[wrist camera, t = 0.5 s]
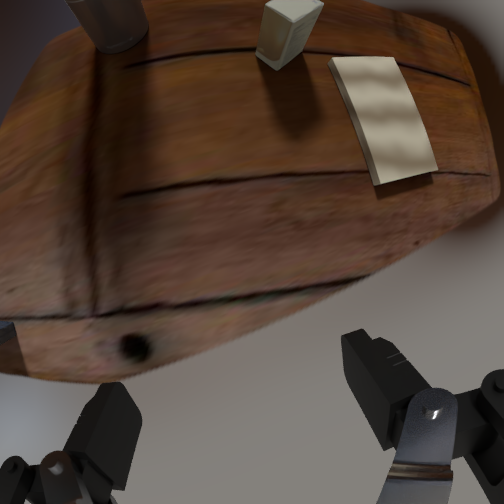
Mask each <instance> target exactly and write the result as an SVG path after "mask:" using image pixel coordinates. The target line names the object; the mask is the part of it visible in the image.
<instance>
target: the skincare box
mask: <svg viewBox="0 0 504 504" xmlns="http://www.w3.org/2000/svg"><path fill="white" fill-rule="evenodd" d="M323 5H324V3H322V2H321V1H319V0H271V1H269V2H268V3H266V4H265V8H264V13H263V18H262V23H261V29H260V34H259V39H258V44H257V49H256V56H257V57H258V58H260V59H261V60H262V61H264V62H265V63H266V64H268V65H269V66H270V67H272V68H273V69H274V70H276V71H278V70H279V69H280V68H282V67H283V66H284V65H286V64H287V63H288V62H289V61H291V60H292V59H293V58H294V57H295V56H297V55H298V54H299V53H300V52H301V51H302V50H303V47H304V45H305V43H306V41H307V39H308V37H309V34H310V32H311V30H312V28H313V26H314V24H315V22H316V20H317V18H318V16H319V13H320V11H321V9H322V7H323Z"/></svg>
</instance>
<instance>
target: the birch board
mask: <svg viewBox="0 0 504 504" xmlns="http://www.w3.org/2000/svg"><path fill="white" fill-rule="evenodd" d="M328 66H329V68H330V70H331V72H332V74H333V77H334V79H335V81H336V83H337V86H338V88H339V90H340V92H341V95H342V97H343V100H344V102H345V104H346V107H347V109H348V112H349V114H350V117H351V120H352V122H353V125H354V128H355V130H356V133H357V136H358V139H359V141H360V144H361V147H362V150H363V153H364V156H365V159H366V162H367V165H368V168H369V172H370V175H371V178H372V181H373V185H374V186H375V185H379V184H383V183H387V182H391V181H395V180H398V179H402V178H406V177H410V176H414V175H418V174H423V173H427V172H431V171H435V170H438V168H437V164H436V161H435V158H434V154H433V151H432V148H431V145H430V142H429V139H428V136H427V133H426V131H425V128H424V125H423V123H422V120H421V117H420V115H419V112H418V110H417V107H416V105H415V102H414V100H413V98H412V95H411V93H410V91H409V89H408V86H407V84H406V82H405V80H404V78H403V76H402V74H401V72H400V70H399V68H398V66H397V64H396V62H395V60H394V58H393V57H335V58H331V60H330V61H329V63H328Z"/></svg>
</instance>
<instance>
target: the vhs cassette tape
mask: <svg viewBox="0 0 504 504" xmlns="http://www.w3.org/2000/svg"><path fill="white" fill-rule="evenodd" d="M15 336H16V333H15V328H14V325H13V322H7V321H6V322H5V321H0V345H1V344H3V343H5V342H6V341H8V340H10V339H11V338H13V337H15Z"/></svg>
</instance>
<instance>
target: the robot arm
mask: <svg viewBox="0 0 504 504" xmlns="http://www.w3.org/2000/svg"><path fill="white" fill-rule="evenodd" d="M65 2H66V3H67V4H68V6H69V8H70V9H71V11H72V12H73V14H74V15H75V17H76V18H77V19H78V21H79V22H80V24H81V25H82V27H83V28H84V30H85V31H86V33H87V34H88V36H89V37H90V39H91V40H92V42H93V43H94V45H95V46H96V47H97V49H98V50H99V51H100V52H102V53H106V54H114V53H119V52H122V51H125V50H127V49H129V48H131V47H132V46H134V45H135V44H137V43H138V42H139V41H140V40H141V39H142V38H143V37H144V35H145V34H146V32H147V30H148V25H149V24H148V20H147V17H146V14H145V12H144V8H143V5H142V2H141V0H65ZM341 345H342V354H343V366H344V373H345V377H346V380H347V383H348V385H349V387H350V389H351V391H352V392H353V394H354V396H355V398H356V400H357V402H358V403H359V405H360V407H361V409H362V411H363V413H364V414H365V417H366V418H367V420H368V422H369V424H370V425H371V428H372V430H373V432H374V433H375V435H376V437H377V439H378V441H379V443H380V445H381V447H382V449H383V451H385V450H387V449H390V448H392V447H394V448H395V450H396V455H395V457H394V460H393V464H392V466H391V468H390V470H389V473H388V475H387V478H386V481H385V483H384V486H383V488H382V491H381V493H380V496H379V498H378V501H377V503H376V504H447V503H448V499H449V495H450V491H451V487H452V482H453V471H451V469H450V468H451V460H452V459H455V458H459V457H462V456H463V457H464V458H465V460H466V461H467V463H468V465H469V467H470V468H471V470H472V472H473V473H474V475H475V477H476V478H477V480H478V482H479V484H480V485H481V487H482V489H483V490H484V493H485V494H486V496H487V498H488V500H489V502H490V503H491V504H504V369H502V370H501V369H500V370H495V371H492V372H490V373H489V374H488V375H486V377H485V378H484V379H483V382H482V384H481V387H480V388H478V389H474V390H471V391H468V392H464V393H461V394H455V395H453V394H452V393H451V392H449V391H448V390H445V389H442V388H432V387H431V386H430V385H429V384H428V383H427V381H426V380H425V379H424V378H423V377H422V376H421V375H420V373H419V372H418V371H417V370H416V369H415V368H414V367H413V365H411V363H410V362H409V361H407V360H406V358H405V357H404V355H403V354H402V353H400V351H399V350H398V349H397V348H396V346H395V345H394V344H393V343H391V342H390V341H387V340H385V339H383V338H381V337H379V338H377V339H374V340H372V339H371V338H370V336H368V334H367V333H366V332H365V330H364V329H359V330H357V331H353V332H350V333H347V334H344V335H342V336H341ZM80 415H81V416H79V418H78V420H77V424H75V426H74V428H73V430H72V432H71V434H70V436H69V438H68V440H67V442H66V444H65V446H64V449H63V451H53V452H51V453H49V454H48V455H46V456H45V457H44V458H43V460H42V461H41V464H40V465H30V466H29V465H28V464H27V463H26V462H25V461H24V460H23V459H22V458H21V457H20V456H12V457H9V458H8V459H7V460H6V461H4V463H3V464H2V466H1V468H0V504H24V502H25V499H26V500H28V501H29V502H30V503H31V504H117V502H116V500H115V499H114V497H113V496H112V495H111V491H112V489H113V490H122V491H124V490H125V486H126V482H127V478H128V474H129V471H130V467H131V463H132V459H133V455H134V452H135V448H136V444H137V440H138V437H139V433H140V430H141V426H142V416H141V413H140V411H139V409H138V407H137V406H136V404H135V402H134V401H133V399H132V398H131V396H130V395H129V393H128V391H127V390H126V388H125V386H124V385H123V384H122V383H121V382H111V383H102V384H101V385H100V386H99V388H98V390H97V392H96V394H95V396H94V397H93V398H92V399H91V400H90V401H89V402H88V403H87V404H86V405H85V407H84V408H83V410H82V412H81V414H80Z"/></svg>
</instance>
